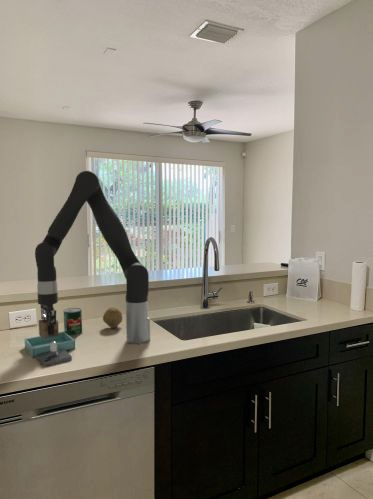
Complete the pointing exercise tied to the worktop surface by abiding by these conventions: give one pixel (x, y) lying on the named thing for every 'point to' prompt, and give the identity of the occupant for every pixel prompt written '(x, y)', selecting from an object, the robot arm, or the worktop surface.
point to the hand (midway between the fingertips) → (48, 332)
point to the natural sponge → (112, 317)
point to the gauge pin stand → (54, 356)
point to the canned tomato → (73, 321)
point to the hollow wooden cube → (44, 329)
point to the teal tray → (48, 343)
